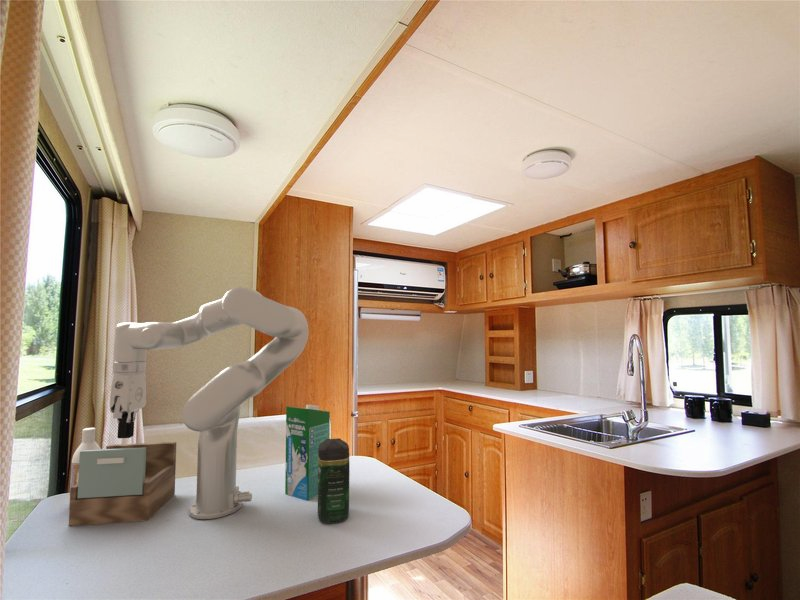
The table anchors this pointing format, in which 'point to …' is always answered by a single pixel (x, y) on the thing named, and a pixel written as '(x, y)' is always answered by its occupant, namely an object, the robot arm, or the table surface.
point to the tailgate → (111, 472)
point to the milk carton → (304, 449)
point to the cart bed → (131, 506)
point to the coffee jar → (333, 481)
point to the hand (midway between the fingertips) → (125, 437)
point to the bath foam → (86, 444)
